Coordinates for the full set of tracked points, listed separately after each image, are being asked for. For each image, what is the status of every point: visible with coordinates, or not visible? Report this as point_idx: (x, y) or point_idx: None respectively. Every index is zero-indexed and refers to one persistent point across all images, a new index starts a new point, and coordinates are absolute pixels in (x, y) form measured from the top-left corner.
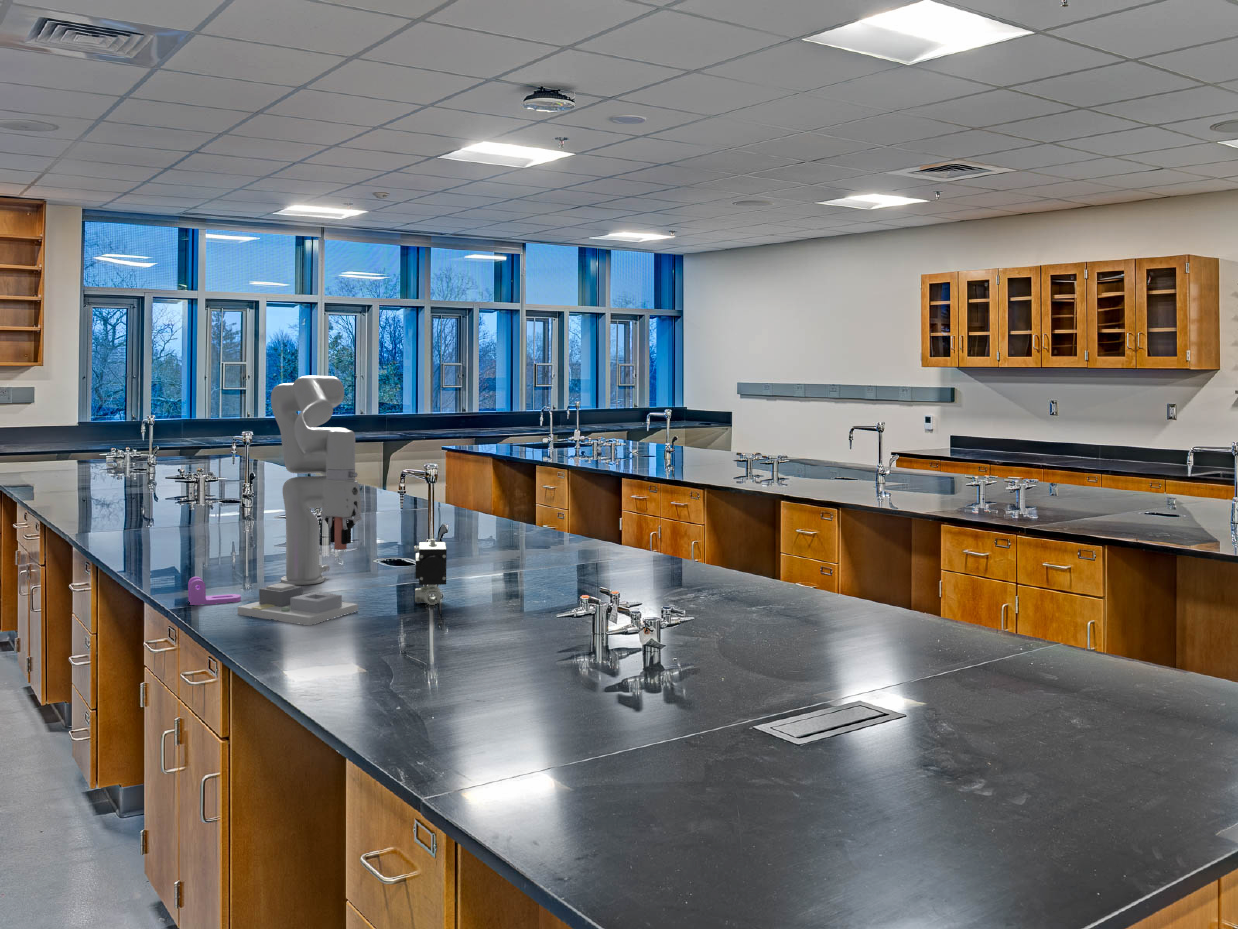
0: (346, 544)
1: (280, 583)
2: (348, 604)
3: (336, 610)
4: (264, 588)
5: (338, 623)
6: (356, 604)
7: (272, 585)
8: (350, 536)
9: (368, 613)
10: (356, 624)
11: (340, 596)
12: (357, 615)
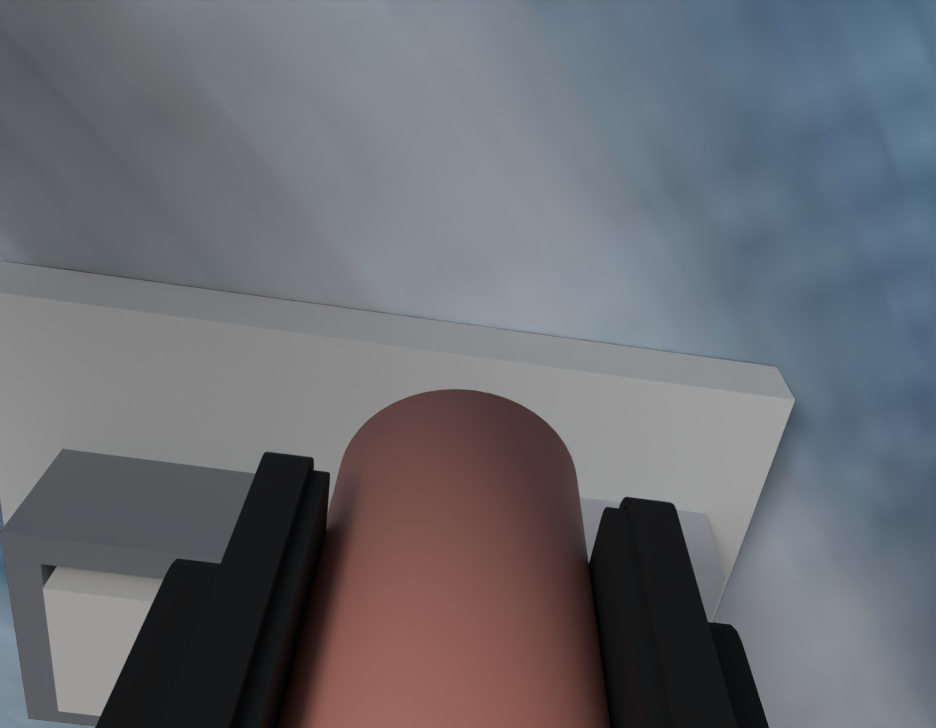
0: (582, 522)
1: (61, 604)
2: (721, 436)
3: (718, 604)
4: (53, 700)
5: (787, 662)
6: (789, 414)
7: (75, 680)
8: (746, 702)
9: (886, 381)
10: (915, 649)
11: (718, 585)
12: (823, 461)
